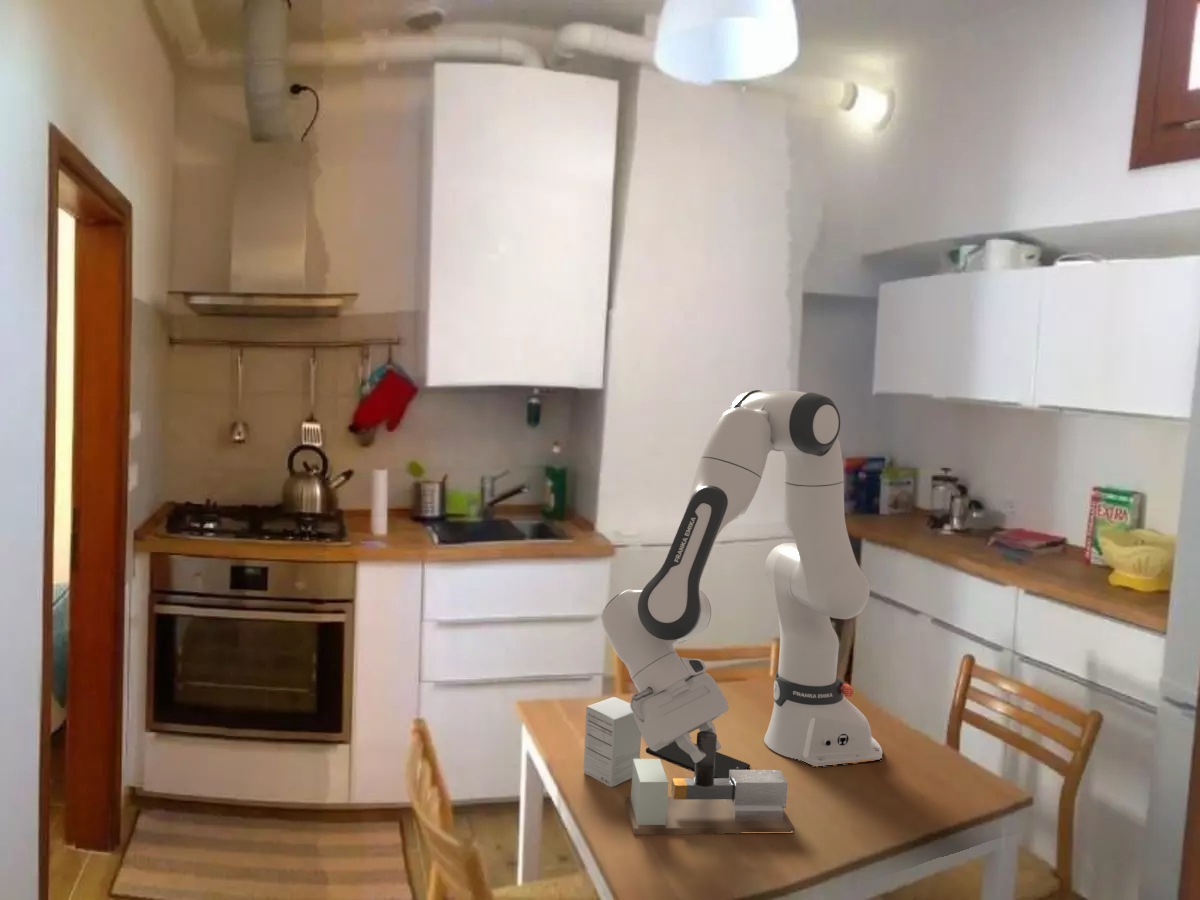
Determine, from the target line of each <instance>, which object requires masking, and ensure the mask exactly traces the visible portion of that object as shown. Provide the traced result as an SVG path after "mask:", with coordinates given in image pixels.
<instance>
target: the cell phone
mask: <svg viewBox="0 0 1200 900" xmlns="http://www.w3.org/2000/svg"><path fill="white" fill-rule="evenodd" d="M693 743H694V742H693ZM694 744H695V745H696V743H694ZM645 752H646V753H648V754H650V755H651V756H652V755H653V756H656V757H658V758H659V759H662V760H664V761H668V762H670V763H673V764H675V765H677V764H678V766H679V767H682V768H685V767H686V769H688V770H690V769H691V770H690V771H693V772H695V762H694V761H693V760H692V758H691V756H690V755H689V754H688V753H686V752H685V751H684V750H682V749H681V748H680V747H679V746H678V744H677V743H676V741H674V742H672V743H670V744H668V745H666V746H665V747H663V748H661V749H659V750H657V751H653V750H652V749H650V748H649V747H648V746H647V748H645ZM749 767H750V768H751V764H750V763H748V762H745V761H742V760H739V759H737V758H734V757H732V756H729V755H727V754H724V753H721V752H718V751H716V756H715V770H714V778H729V770H746V769H748V768H749ZM750 768H749V769H750ZM749 769H748V770H749Z"/></svg>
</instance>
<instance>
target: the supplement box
mask: <svg viewBox="0 0 1200 900" xmlns="http://www.w3.org/2000/svg"><path fill="white" fill-rule="evenodd" d="M630 704H631V703H630V702H627V701H625V700H623V699H620V698H619V697H615V696H611V697H609V698H606V699H604V700H601V701H598V702H594V703H592V704H589V705H586V710H585V711H586V712H585V733H584V734H585V735H584V752H583V753H584V754H583V773H584V774H585V775H587V776H589V777H591V778H593V779H595V780H597V781H599V782H601V783H602V784H604V785H607V786H608V787H610V788H613V787H616V786H618V785H619V784H620V785H621V784H622V783H624V782H626V781H629V780H632V770H633V759H641V747H642V746H641V745H642V744H641V743H642V742H641V741H642V735H641V732H640V730H639V728H638V726H637V724H636V721H635V718H634V713H633V711H632V710H631V707H630Z"/></svg>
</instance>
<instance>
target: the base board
mask: <svg viewBox="0 0 1200 900" xmlns="http://www.w3.org/2000/svg"><path fill="white" fill-rule="evenodd" d="M625 806H626V807H625V808H626V810H627V813H628V818H629V822H630V825H631V829H632V832H633V835H715V834H714V833H717V834H716V835H720V834H719V833H722V834H721V835H725V834H724V833H741V832H791V831H794V832H795V826H794V824H793V822H791V819H790V818H789V815H788V814H787V813H786V811H785V808H782V809H783V811H784V812H783V821H734V819H733V817H732V815H731V813H730V811H729V808H728V806H727V804H726V799H674V798H673V796H667V810H666V825H637V821H636V817H635V814H634V810H633V806H632V803H631V796H625ZM703 833H704V834H703ZM708 833H710V834H708ZM711 833H712V834H711Z"/></svg>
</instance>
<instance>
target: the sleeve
mask: <svg viewBox="0 0 1200 900" xmlns="http://www.w3.org/2000/svg"><path fill="white" fill-rule="evenodd" d="M729 778H732V780H733V782H734V783H735V790H734V799H726V804H727V806H728V808H729V811H730V813H731V815H732V817H733V819H734V821H783V812H784V811H785V810H784V811H783V809H786V808H787V798H788V797H787V796H788V785H789V782H788V781H787V779H786V777H785V776H784V775H783V772H782V771H781V770H780V769H748V770H729ZM782 808H783V809H782Z"/></svg>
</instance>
